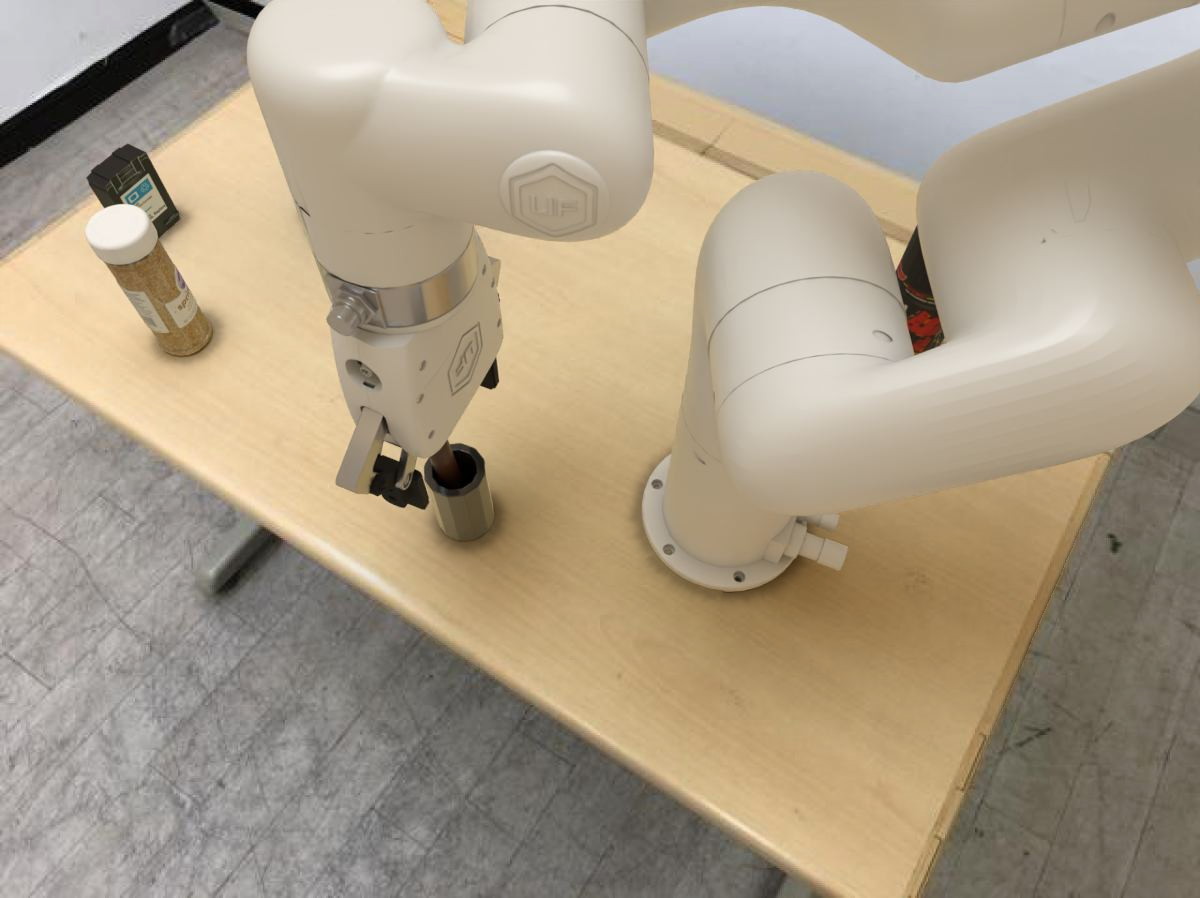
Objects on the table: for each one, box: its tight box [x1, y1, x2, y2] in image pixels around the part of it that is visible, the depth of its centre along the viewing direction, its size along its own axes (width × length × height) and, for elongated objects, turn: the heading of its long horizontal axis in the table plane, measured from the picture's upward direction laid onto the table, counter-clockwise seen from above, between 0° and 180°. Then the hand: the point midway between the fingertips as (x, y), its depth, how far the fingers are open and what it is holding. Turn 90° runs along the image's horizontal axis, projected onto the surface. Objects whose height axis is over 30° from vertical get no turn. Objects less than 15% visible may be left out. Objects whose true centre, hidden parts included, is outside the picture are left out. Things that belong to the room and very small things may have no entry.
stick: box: [428, 438, 466, 490], centre depth 61 cm, size 2×2×16 cm
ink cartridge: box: [85, 143, 181, 239], centre depth 78 cm, size 5×2×8 cm, turn 150°
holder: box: [423, 442, 495, 542], centre depth 64 cm, size 4×4×8 cm
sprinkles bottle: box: [84, 204, 213, 357], centre depth 70 cm, size 5×5×14 cm
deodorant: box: [895, 225, 945, 355], centre depth 71 cm, size 6×6×15 cm
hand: (442, 436), depth 57 cm, fingers open, 9 cm apart
